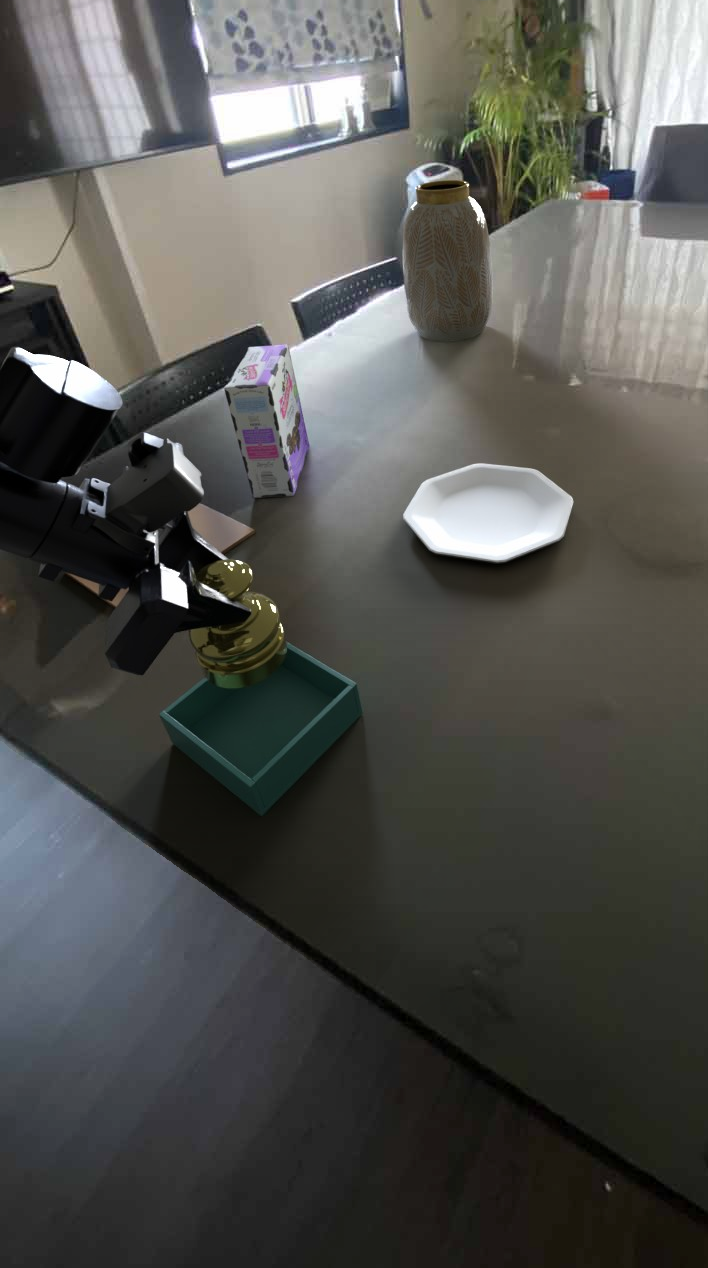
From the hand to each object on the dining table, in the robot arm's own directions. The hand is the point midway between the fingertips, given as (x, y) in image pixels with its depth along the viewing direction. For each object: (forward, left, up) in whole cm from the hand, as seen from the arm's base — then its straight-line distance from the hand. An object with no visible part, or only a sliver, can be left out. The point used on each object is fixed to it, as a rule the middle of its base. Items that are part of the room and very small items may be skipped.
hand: (244, 596), depth 55 cm
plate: (+35, 0, -13) cm, 37 cm away
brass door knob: (-1, +1, -7) cm, 7 cm away
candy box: (+29, +31, -13) cm, 44 cm away
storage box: (-2, -1, -13) cm, 13 cm away
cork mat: (+8, +30, -13) cm, 33 cm away
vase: (+85, +42, -13) cm, 95 cm away
